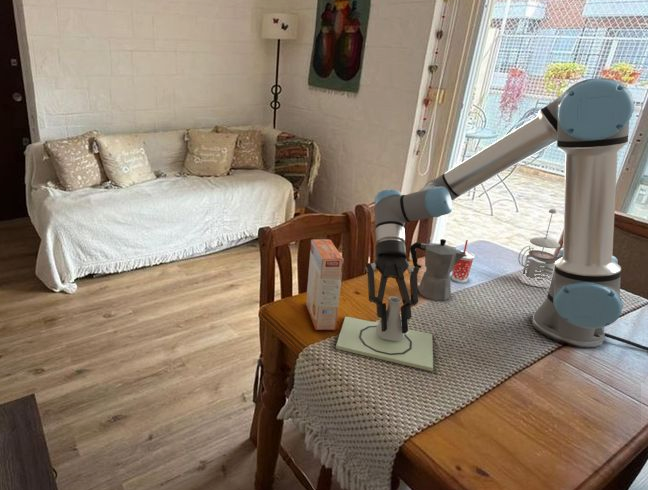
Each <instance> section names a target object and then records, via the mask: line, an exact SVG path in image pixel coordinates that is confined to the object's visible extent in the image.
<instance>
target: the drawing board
mask: <svg viewBox="0 0 648 490" xmlns="http://www.w3.org/2000/svg"><path fill="white" fill-rule="evenodd" d="M378 324H379V322H375V321H371V320H366V319H361V318H356V317H353V316H347V315H345V317H344V320H343V322H342V326H341V328H340V332H339V335H338V338H337V341H336V345H335V349H336V350H340V351H343V352H348V353H353V354H357V355H361V356H365V357H368V358H374V359H377V360H381V361H386V362H389V363H394V364H399V365H401V366H402V365H403V366H407V367H411V368H416V369H420V370H424V371H428V372H433V371H434V349H433V348H434V347H433V346H434V345H433V334H432V333H429V332H424V331H419V330H414V329H410V328H408V332H407V333H405V336H404V340H398V341H391V340H387V339H383V338H381V337H380V336H379V335H378V334H377V333H376V328H377V325H378Z"/></svg>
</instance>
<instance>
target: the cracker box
mask: <svg viewBox="0 0 648 490" xmlns="http://www.w3.org/2000/svg"><path fill="white" fill-rule="evenodd" d="M344 261H345V260H344V257H343V255H341V253H340V252H339V250H338V249H337V247H336V246H335V244H334V242H333V241H332V240H331V239H328V238H326V239H325V238H323V239H322V238H321V239H313V238H312V239H311V240H310V252H309V261H308V262H309V263H308V276H307V288H306V299H305V300H306V301H305V306H306V308H307V311H308V314H309V317H310V320H311V322H312V324H313V327H314V330H315V331H336V330H337V321H338V314H339V306H340V305H339V304H340V294H341V287H342V277H343V267H344Z"/></svg>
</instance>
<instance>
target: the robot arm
mask: <svg viewBox="0 0 648 490" xmlns="http://www.w3.org/2000/svg"><path fill="white" fill-rule="evenodd" d="M634 110H635V100H634V97H633V95H632V93H631V91H630V90H629V89H628V87H627V86H626V85H624V84H623V83H621V82H619V81H617V80H615V79H611V78H606V77H599V78H588V79H584V80H581V81H579V82H576V83H574V84H572V85H571V86H569V87H568V88H567V89H566V90H565V91H564V92H562V94H561V95H559V96H558V97H556V98H555V99H554V100H553V101H552V102H550V103H548V104H547V105H545V106H544V107H543V108H540V109H539V110H538V113H537V116H535V117H534V118H533V119H531V120H529V121H528V122H525V123H524V124H522V125H521V126H519V127H518V128H516V129H515V130H513V131H511V132H509V133H508V134H505V136H503V137H501V138H500V139H498V140H496V141H495V142H492V144H489V145H488V146H486V147H484V148H483V149H482V150H480V151H478V152H476V153H475V154H473V155H472V156H470V157H468V158H467V159H465V160H463V161H462V162H460V163H459V164H457V165H456V166H453V167H452V168H451V169H449V170H447V171H446V172H444V173H442V174H441V175H439V176H437V177H436V178H433V179H431V180H429V181H428V182H426V184H425V185H424V186H423V187H422V188H421V189H420V190H418V191H414V192H411V193H407V194H402V192H401V191H399V190H397V189H383V190H381V191H379V192H378V193H377V194H375V196H374V207H373V211H374V225H375V226H374V230H375V244H376V245H375V261H374V262H372V263H370V262H367V263H366V264H365V266H364V270H365V272H366V275H367V291H368V292H367V293H368V302H370V303H373V304H375V306H376V317H377V318H380V321H381V329H382V331H383V332H385V331H386V330H387V316H386V311H387V303H386V302H383V301H384V297H385V293H386V286H387V281H388V279H390V278H391V279H395V282H396V283H397V287H398V291H399V295H400V297H401V298H400V299H401V303H402V305H401V307H400V317H401V322H402V333H404V334H405V333H407V332H408V329H409V324H408V323H409V321H408V320H411V319H412V307H413V306H416V305H417V304H418V303H419V290H418V288H419V284H418V274H419V271H420V268H419V267H417V266H416V267H414V265H410V264H409V262H408V260H407V247H406V233H405V224H406V223H411V222H415V221H421V220H426V219H431V218H439V217H441V216H446V215H448V214H451V212H452V210H453V200H455V199H456V198H458V197H460V196H461V195H464V194H465V193H468V192H469V191H471V190H472V189H475V188H476V187H477V186H479V185H481V184H483V183H486V182H487V181H488V180H490V179H492V178H494V177H496V176H497V175H499V174H501V173H503V172H505V171H507V170H508V169H510V168H512V167H514V166H516V165H517V164H519V163H521V162H523V161H524V160H526V159H528V158H530V157H531V156H534V155H535V154H537V153H539V152H540V151H542V150H544V149H546V148H548V147H550V146H551V145H553V144H555V143H556V148H557V149H558V150H560V151H561V152H563V154H564V155H565V157H564V158H565V162H564V202H563V205H564V206H563V244H562V247H561V248H560V250H559V251H558V254H557V255H556V260H555V265H554V269H553V273H552V276H551V280H550V281H551V284H550V287H549V288H548V290H547V291H548V292H547V295H546V298H545V299H544V301H543V302H542V303H541V305H540V306H539V307H538V308H537V309H536V310H535V312H534V314H533V316H532V319H531V325H532V326H533V327H534V329H535V330H536V331H538V332H539V333H540V334H542V335H543V336H545V337H547V338H549V339H551V340H554V341H556V342H559V343H561V344H563V345H568V346H572V347H577V348H587V349H588V348H597V347H600V346H601V345H603V342H604V340H605V337H606V338H608V339H612V340H614V341H617V342H621V343H623V344H626V345H630V346H633V347H634V348H638V349H641V350H644V351H646V352H648V346H645V345H642V344H639V343H637V342H634V341H632V340H629V339H625V338H622V337H620V336H616V335H613V334H610V333H606V332H605V327H608V326H610V325H612V324H614V323H615V322H616V321H618V319H619V318H620V317H621V314H622V312H623V308H624V307H623V306H624V305H623V304H624V303H623V301H622V298H621V276H622V266H621V265H620V264H619V263H618V262H619V260H618V258H617V257H616V256H614V255H613V254H614V253H613V251H614V249H613V248H614V231H615V230H614V229H615V212H616V211H615V210H616V194H617V193H616V191H617V171H618V152H619V151H620V150H622V148H624V147H625V146H627V144H628V143H629V134H630V133H629V131H630V120H631V119H632V117H633V113H634ZM375 270H377V271H378V273H380V274H381V275H380V281H379V287H378V290H377V296H376V284H375ZM406 271H408V274H409V290H410V291H409V290H408V288H407V284H406V282H405V276H404V273H405V272H406Z"/></svg>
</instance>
